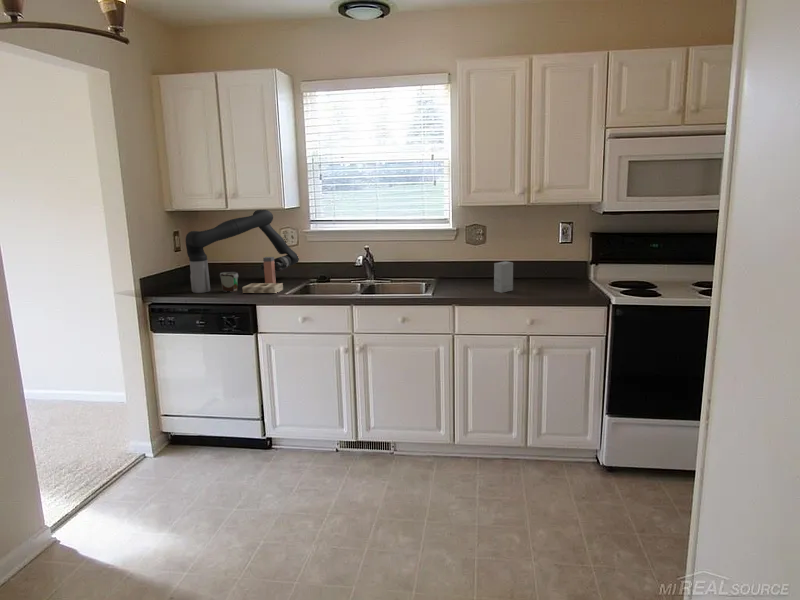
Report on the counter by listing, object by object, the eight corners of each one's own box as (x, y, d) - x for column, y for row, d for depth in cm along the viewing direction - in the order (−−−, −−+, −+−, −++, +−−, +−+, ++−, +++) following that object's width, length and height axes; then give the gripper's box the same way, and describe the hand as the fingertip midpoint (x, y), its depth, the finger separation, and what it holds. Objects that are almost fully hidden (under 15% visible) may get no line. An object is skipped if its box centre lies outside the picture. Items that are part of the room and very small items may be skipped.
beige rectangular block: (242, 293, 300) (242, 287, 299) (252, 289, 311) (251, 283, 311) (274, 293, 297) (274, 287, 296) (283, 289, 309) (282, 283, 308)
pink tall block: (265, 288, 315) (263, 258, 311) (268, 286, 319) (266, 256, 315) (273, 288, 314) (270, 257, 310) (276, 286, 318) (273, 256, 315)
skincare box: (505, 289, 291) (505, 260, 288) (513, 290, 286) (514, 262, 283) (493, 291, 287) (493, 262, 284) (501, 293, 282) (501, 263, 279)
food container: (244, 290, 309) (243, 272, 307) (235, 292, 304) (234, 274, 302) (229, 288, 316) (228, 271, 313) (221, 290, 311) (219, 272, 309)
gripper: (268, 257, 330) (257, 261, 314) (291, 257, 328) (281, 261, 312) (269, 270, 332) (258, 274, 316) (292, 269, 329) (282, 274, 314)
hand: (269, 267), depth 314 cm, fingers open, 8 cm apart
